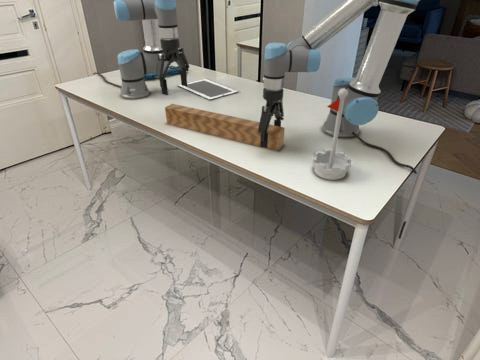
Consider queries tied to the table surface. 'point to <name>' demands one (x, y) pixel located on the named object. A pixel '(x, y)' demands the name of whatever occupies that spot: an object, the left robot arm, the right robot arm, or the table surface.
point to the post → (223, 126)
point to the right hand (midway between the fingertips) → (270, 140)
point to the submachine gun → (171, 71)
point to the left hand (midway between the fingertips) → (175, 90)
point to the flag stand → (333, 149)
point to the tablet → (208, 89)
